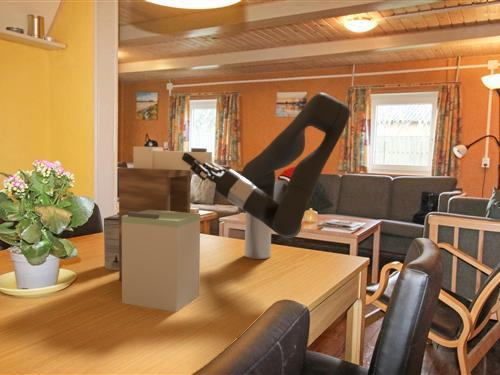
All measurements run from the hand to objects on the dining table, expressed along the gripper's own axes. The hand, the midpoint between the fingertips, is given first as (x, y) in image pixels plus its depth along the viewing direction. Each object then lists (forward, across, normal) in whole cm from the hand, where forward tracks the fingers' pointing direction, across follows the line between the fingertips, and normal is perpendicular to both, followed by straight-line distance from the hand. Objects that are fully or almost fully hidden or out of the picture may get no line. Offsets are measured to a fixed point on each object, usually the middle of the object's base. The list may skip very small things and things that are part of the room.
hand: (187, 155), depth 120 cm
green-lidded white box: (-19, +15, +31) cm, 39 cm away
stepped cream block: (+2, 0, +6) cm, 6 cm away
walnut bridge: (-9, 0, +36) cm, 37 cm away
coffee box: (+5, -6, +45) cm, 45 cm away
